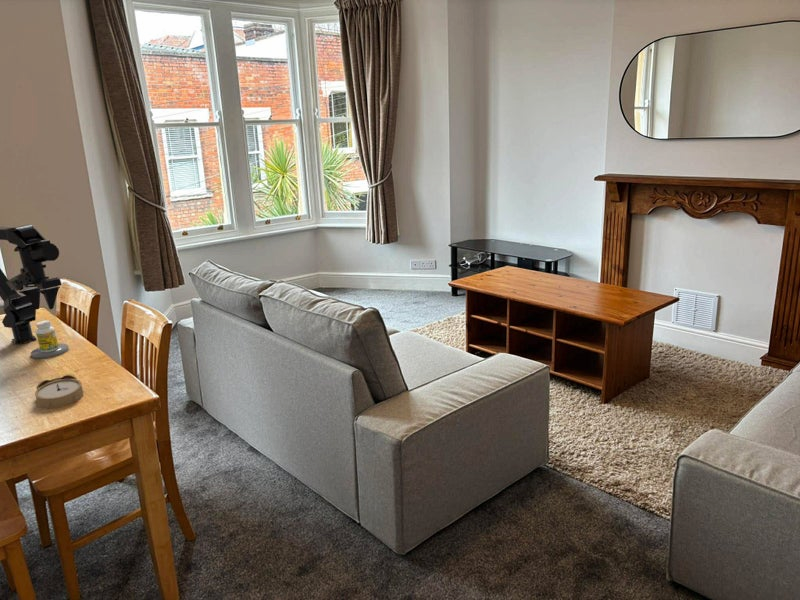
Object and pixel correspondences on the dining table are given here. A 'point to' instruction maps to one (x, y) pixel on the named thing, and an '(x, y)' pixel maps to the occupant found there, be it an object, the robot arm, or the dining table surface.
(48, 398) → the alarm clock
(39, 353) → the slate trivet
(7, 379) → the dining table surface
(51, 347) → the supplement bottle
